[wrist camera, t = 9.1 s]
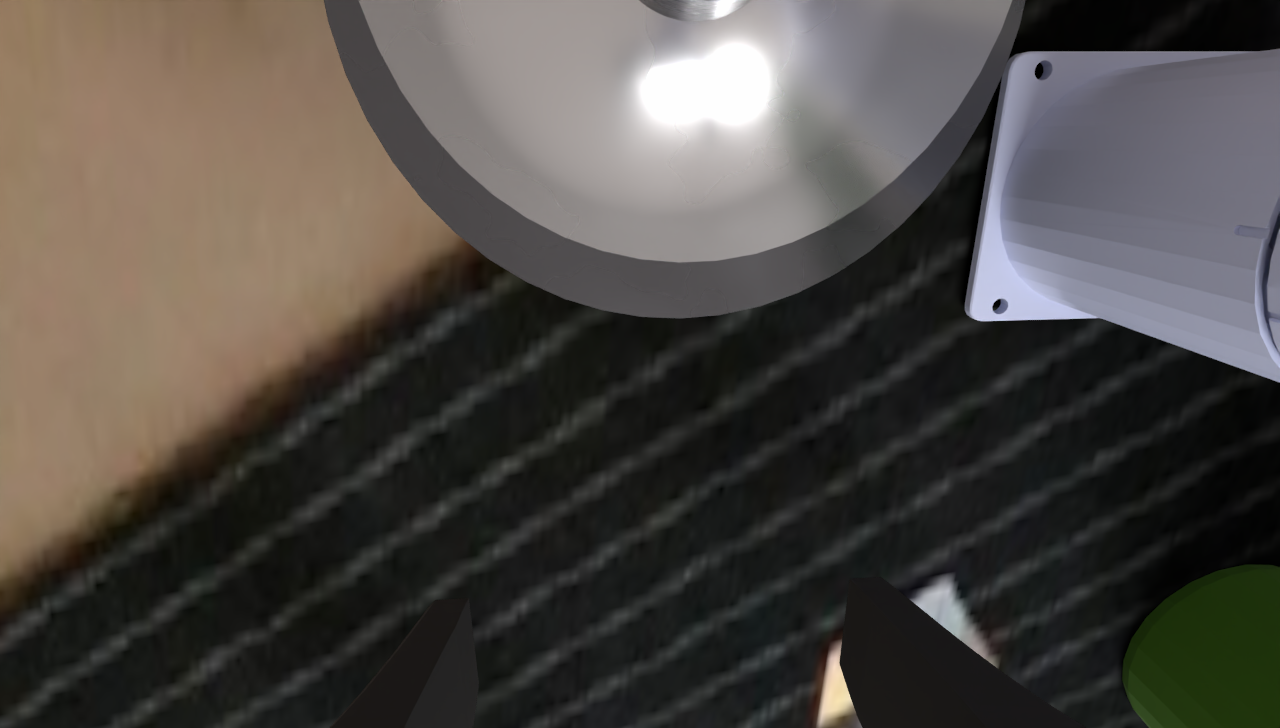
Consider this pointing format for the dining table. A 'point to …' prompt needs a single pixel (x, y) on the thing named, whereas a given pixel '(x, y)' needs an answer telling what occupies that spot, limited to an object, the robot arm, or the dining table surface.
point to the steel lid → (685, 108)
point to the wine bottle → (1210, 654)
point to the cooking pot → (622, 277)
